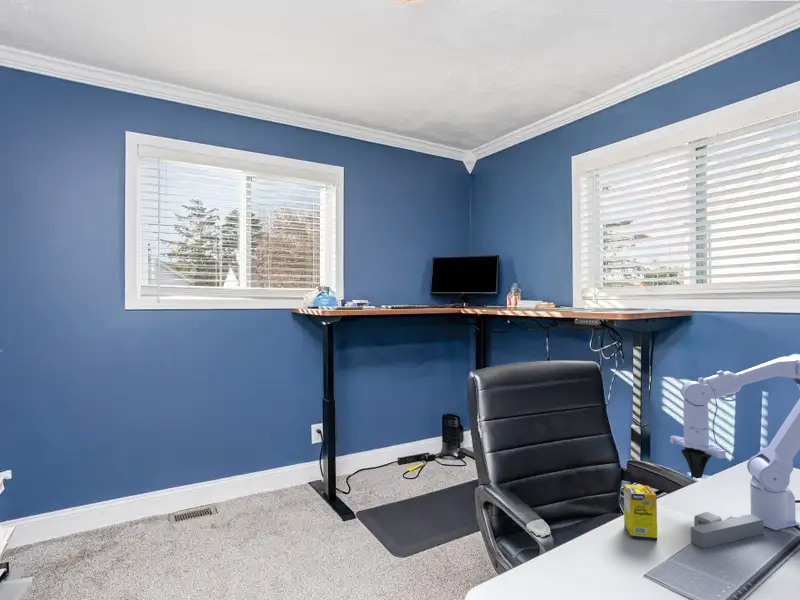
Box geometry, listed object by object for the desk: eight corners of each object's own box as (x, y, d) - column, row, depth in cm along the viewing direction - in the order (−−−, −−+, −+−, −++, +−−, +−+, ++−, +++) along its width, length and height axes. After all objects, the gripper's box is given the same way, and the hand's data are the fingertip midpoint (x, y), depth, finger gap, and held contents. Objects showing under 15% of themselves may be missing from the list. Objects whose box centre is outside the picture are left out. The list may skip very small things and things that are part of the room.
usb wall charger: (694, 530, 114) (694, 514, 114) (711, 524, 117) (710, 508, 117) (711, 537, 110) (711, 521, 110) (728, 531, 113) (727, 515, 113)
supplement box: (658, 541, 108) (657, 495, 109) (630, 539, 110) (629, 493, 110) (649, 529, 114) (648, 485, 114) (623, 527, 115) (623, 483, 116)
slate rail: (750, 528, 114) (750, 514, 114) (763, 534, 111) (763, 519, 111) (691, 542, 108) (690, 527, 108) (703, 548, 105) (702, 533, 105)
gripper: (661, 421, 129) (662, 469, 129) (711, 435, 116) (712, 489, 115) (680, 419, 132) (681, 467, 131) (731, 432, 118) (732, 485, 118)
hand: (697, 477), depth 123 cm, fingers closed
